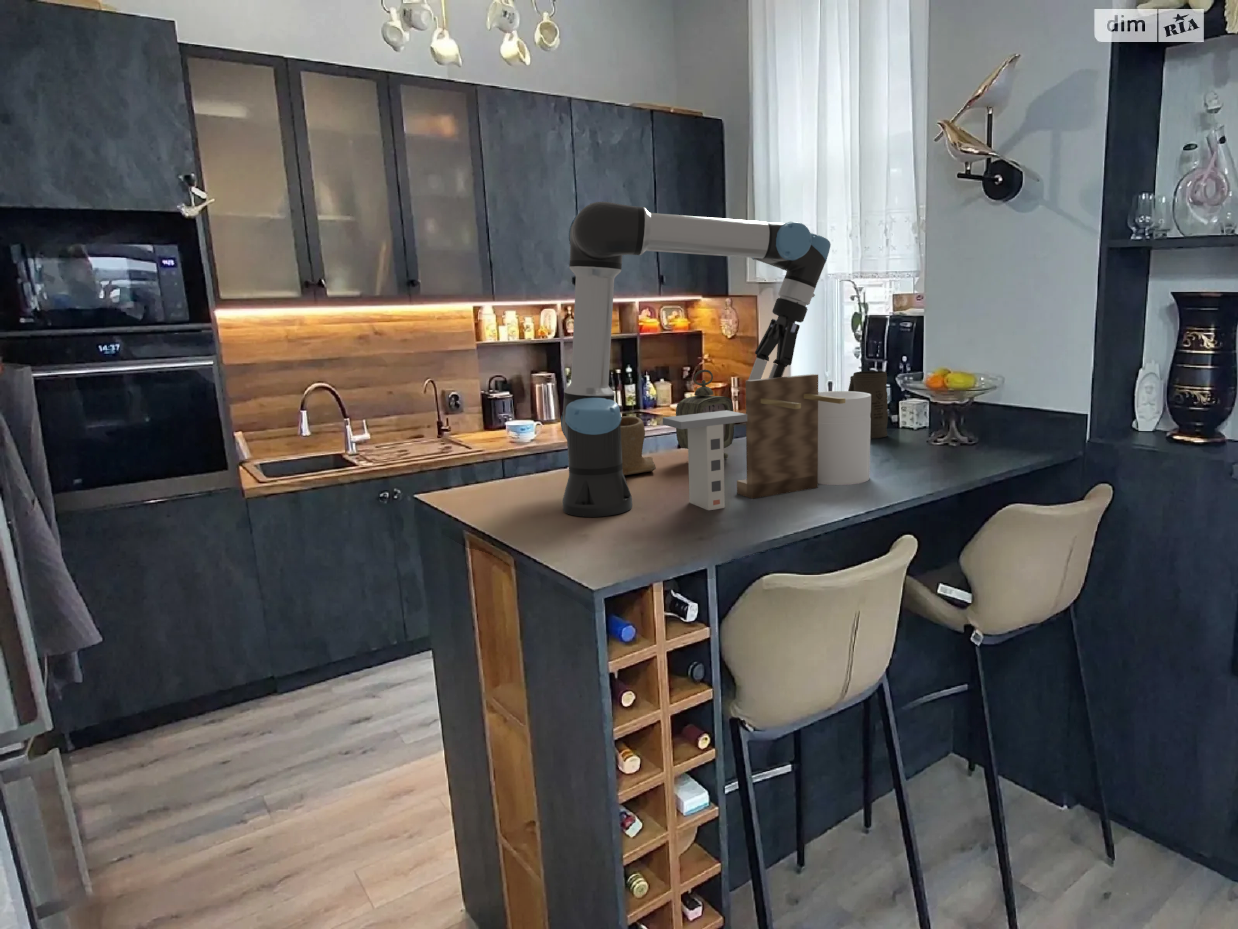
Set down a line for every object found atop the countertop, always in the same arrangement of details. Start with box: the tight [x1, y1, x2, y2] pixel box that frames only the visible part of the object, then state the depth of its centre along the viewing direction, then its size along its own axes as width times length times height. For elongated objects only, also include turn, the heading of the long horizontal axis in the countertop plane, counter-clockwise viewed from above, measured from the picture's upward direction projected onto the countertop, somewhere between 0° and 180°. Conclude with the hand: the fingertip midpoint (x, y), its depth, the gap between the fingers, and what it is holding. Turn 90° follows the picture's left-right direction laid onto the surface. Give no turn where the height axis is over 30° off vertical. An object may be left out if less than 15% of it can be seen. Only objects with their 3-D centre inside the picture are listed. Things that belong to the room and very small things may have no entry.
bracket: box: [736, 373, 845, 500], centre depth 176 cm, size 18×18×26 cm
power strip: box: [662, 410, 747, 511], centre depth 172 cm, size 16×8×20 cm, turn 115°
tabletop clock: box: [675, 369, 735, 460], centre depth 217 cm, size 14×9×25 cm, turn 129°
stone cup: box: [620, 415, 657, 476], centre depth 206 cm, size 15×12×15 cm
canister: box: [818, 390, 871, 486], centre depth 192 cm, size 16×16×20 cm
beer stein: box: [847, 370, 889, 440], centre depth 247 cm, size 15×11×20 cm
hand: (760, 388), depth 189 cm, fingers open, 13 cm apart
